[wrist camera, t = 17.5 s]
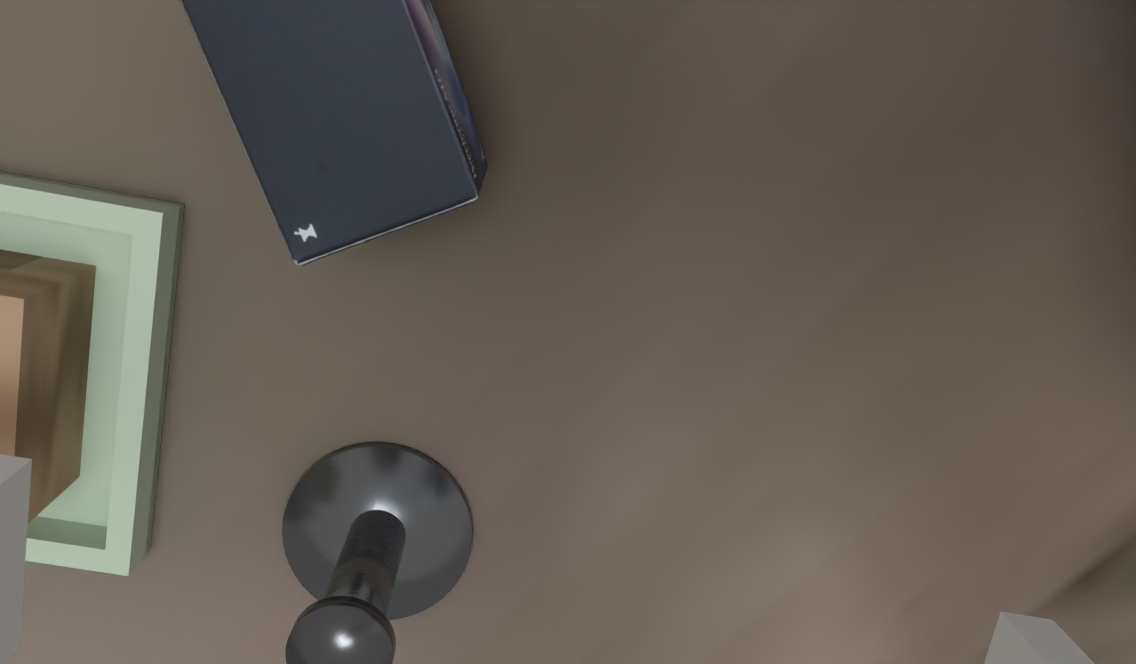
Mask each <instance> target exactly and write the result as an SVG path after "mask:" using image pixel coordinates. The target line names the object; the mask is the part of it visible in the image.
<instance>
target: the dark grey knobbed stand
mask: <svg viewBox="0 0 1136 664" xmlns="http://www.w3.org/2000/svg"><path fill="white" fill-rule="evenodd" d="M472 534H473V529H472V518H471V512H470V508H469V505H468V502H467V500H466V497H465V495H464V493H463V491H462V489H461V488H460V486H459V485H458V483H457V482H456V480H455V479H454V478H453V477H452V476H451V475H450V473H449V472H448V471H447V470H446V469H445V468H443V467H442V466H441V465H440V464H439V463H438V462H436V461H435V460H433V459H432V458H430V457H429V456H427V455H425V454H423V453H421V452H419V451H417V450H414V449H411V448H409V447H406V446H402V445H397V444H392V443H383V442H372V443H362V444H355V445H352V446H348V447H344V448H342V449H340V450H337V451H335V452H332V453H331V454H329V455H327V456H326V457H324V458H322V459H321V460H320V461H318V462H317V463H316V464H314V465H313V466H312V467H311V468H310V469H309V470H308V471H307V472H306V473H305V474H304V476H303V477H302V478H301V480H300V481H299V482H298V484H297V486H296V488H295V489H294V491H293V493H292V495H291V497H290V499H289V501H288V504H287V507H286V509H285V514H284V519H283V529H282V535H283V545H284V549H285V553H286V557H287V559H288V562H289V565H290V567H291V569H292V570H293V572H294V574H295V576H296V577H297V579H298V580H299V581H300V583H301V584H302V585H303V586H304V587H305V589H306V590H307V591H308V592H309V593H310V594H311V595H313V596H314V597H315V598H316V599H318V600H319V601H317V602H315V603H313V604H311V605H310V606H309V607H307V608H306V609H305V610H304V611H303V612H302V613H301V614H300V616H299V617H298V618H297V620H296V622H295V624H294V626H293V628H292V631H291V633H290V636H289V638H288V641H287V645H286V662H287V664H392V662H393V658H394V653H395V646H396V641H395V634H394V631H393V628H392V626H391V624H390V622H389V620H392V619H399V618H404V617H407V616H411V615H414V614H416V613H419V612H421V611H423V610H425V609H427V608H429V607H431V606H432V605H434V604H435V603H437V602H438V601H439V600H441V599H442V598H443V597H444V596H445V595H446V594H447V593H448V592H449V591H451V589H452V588H453V587H454V586H455V584H456V583H457V582H458V580H459V579H460V577H461V575H462V573H463V572H464V569H465V567H466V565H467V562H468V559H469V555H470V551H471V543H472Z"/></svg>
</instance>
